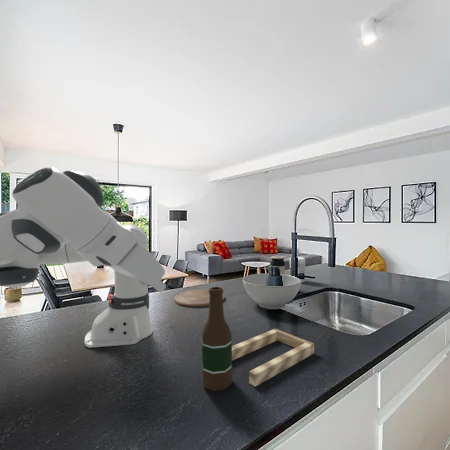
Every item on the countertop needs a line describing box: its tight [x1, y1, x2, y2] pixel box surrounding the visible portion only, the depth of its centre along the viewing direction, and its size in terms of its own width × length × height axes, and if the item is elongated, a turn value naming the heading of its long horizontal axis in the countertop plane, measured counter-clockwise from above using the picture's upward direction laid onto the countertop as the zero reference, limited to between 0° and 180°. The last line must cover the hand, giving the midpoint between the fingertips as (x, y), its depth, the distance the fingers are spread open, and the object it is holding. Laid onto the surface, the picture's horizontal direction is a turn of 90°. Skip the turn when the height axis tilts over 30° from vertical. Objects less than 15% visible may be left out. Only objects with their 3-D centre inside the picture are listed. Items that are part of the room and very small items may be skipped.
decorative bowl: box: [242, 272, 302, 310], centre depth 131 cm, size 27×27×12 cm
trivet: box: [173, 289, 226, 309], centre depth 142 cm, size 25×25×2 cm
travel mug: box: [270, 255, 286, 275], centre depth 161 cm, size 8×8×18 cm
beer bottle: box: [201, 286, 233, 392], centre depth 71 cm, size 8×8×24 cm
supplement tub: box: [289, 256, 307, 284], centre depth 177 cm, size 10×10×15 cm
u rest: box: [232, 328, 315, 388], centre depth 83 cm, size 26×15×3 cm, turn 130°
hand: (154, 285), depth 60 cm, fingers open, 6 cm apart
